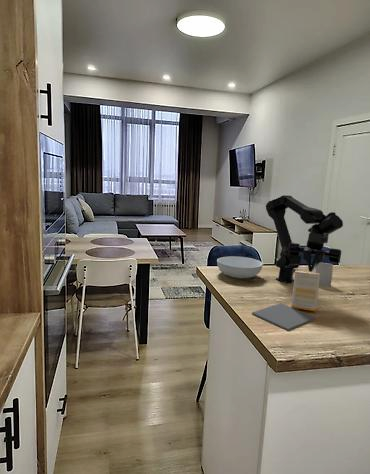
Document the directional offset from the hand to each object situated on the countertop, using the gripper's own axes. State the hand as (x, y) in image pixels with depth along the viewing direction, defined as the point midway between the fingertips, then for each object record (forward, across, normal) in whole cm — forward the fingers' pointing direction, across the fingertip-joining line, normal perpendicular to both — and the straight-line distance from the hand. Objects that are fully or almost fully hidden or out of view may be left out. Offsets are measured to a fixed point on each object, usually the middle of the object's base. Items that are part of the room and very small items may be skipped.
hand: (310, 271), depth 123 cm
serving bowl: (-4, -32, +21) cm, 39 cm away
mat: (+22, -5, -5) cm, 23 cm away
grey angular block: (-11, +4, +28) cm, 30 cm away
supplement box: (+14, 0, +3) cm, 15 cm away
